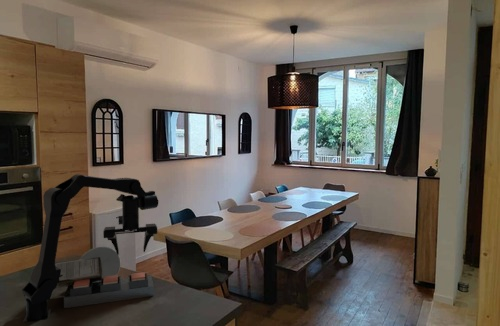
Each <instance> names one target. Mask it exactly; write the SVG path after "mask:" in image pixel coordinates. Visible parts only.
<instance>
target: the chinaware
mask: <svg viewBox="0 0 500 326" xmlns="http://www.w3.org/2000/svg"><path fill="white" fill-rule="evenodd" d="M119 255H120V254H119ZM119 255H117V252H116V250H115V249H113V248H112V247H111V248H110V247H107V246H96V247H94V248H90V249H89V250H88V251H86V252H85V253H84V254H83V255H82V256H81V257H80V259H79V260H83V259H90V258H97V257H100V259H101V263H102V278H104V277H106V276H114V275H118V274H119V272H120V269H121V263H122V262H121V257H120V256H119ZM96 282H101V281H96ZM93 283H94V282H93Z"/></svg>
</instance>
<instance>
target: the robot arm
mask: <svg viewBox="0 0 500 326" xmlns="http://www.w3.org/2000/svg"><path fill="white" fill-rule="evenodd" d="M84 188H94V189H95V188H96V189H105V190H114V191H117V192H120V193H121V194H119V196H118V197H116V201H118V202H121V203H122V206H121V208H122V210H121V211H122V214H121V215H118V225H122V228H116V225H115V226H105V227H104V228H103V236H102V237H103V239H107V241H110V242H111V244H112V245H113V247H114V251H116V252H117V255H120V253H119V249H120V248H119V244H118V243H119V242H118V238H117V235H120V234H121V235H123V234H134V233H144V238H143V239H144V240H143V246H142V249H143V251H142V252H143V253H145V252H146V249H147V247H148V245H149V242H150V240H151V238H152V237H154V236H155V235H156V234H158V226H157V224H156V223H145V226H140V223H139V222H140V219H139V218H140V215H139V213H140V212H139V209H140V210H141V211H146V210H150V209H156V208H158V206H159V199H158V196H157V195H156V191H154V190H149V191H145V189H144V188H143V187H142V186H141V182H140V180H139V179H137V178H131V177H117V178H108V177H107V178H106V177H98V176H97V177H96V176H89V175H84V174H78V173H77V174H74V175H72V176H71V177H70V178H68V179H67V180H64V181H63V182H61V183H58V185H56V186H55V187H50V188H48V189H47V190H45V191H44V193H43V196H42V197H43V209H44V214H45V220H44V226H43V232H42V237H41V243H40V244H41V245H40V248H39V249H40V251H39V255H38V262H37V263H36V265H35V266H34V268H33V269H32V273H31V275H30V279H29V281H28V282H27V284H26V285H25V286H24V287H23V288H22V289H21V293H22V294H23V297H25V313H26V314H25V317H24V319H23V321H22V323H28V322H29V323H30V322H37V321H42V320H48V319H49V316H50V314H51V312H52V309H51V308H49V300H50V299H51V297H52V294H53V291H54V290H56V289H55V288H56V286H57V282H58V283H60V281H59V276H60V273H61V269H60V268H58V267H56V266H55V264H56V256H57V253H58V252H57V251H58V245H59V238H60V231H61V226H62V220H63V217H64V215H65V214H66V212H67V210H68V208H69V205H70V202H71V200H72V199H73V198H75V197H76V196H77V195H78V194H79V193H80V191H81V190H82V189H84ZM125 194H129V195H125Z"/></svg>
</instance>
